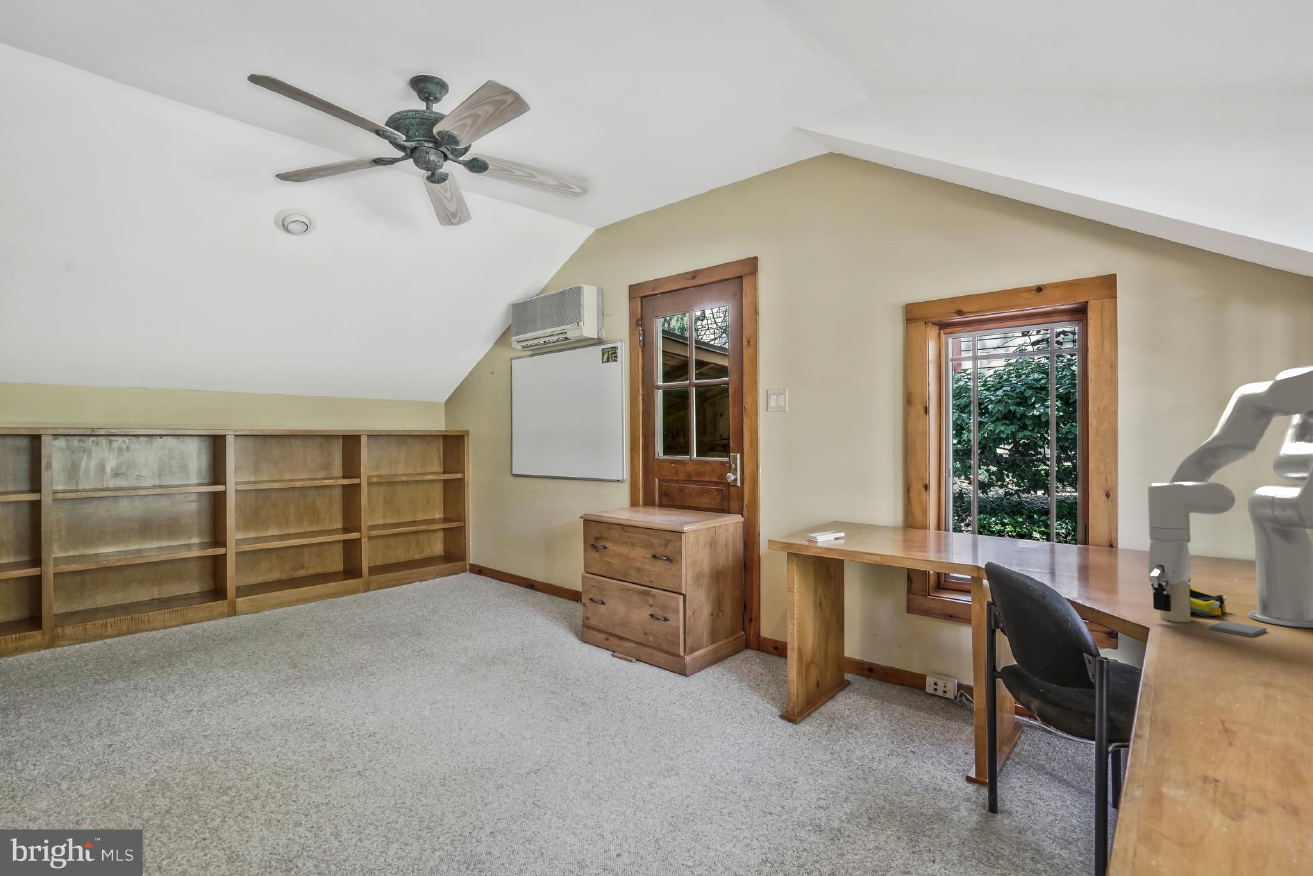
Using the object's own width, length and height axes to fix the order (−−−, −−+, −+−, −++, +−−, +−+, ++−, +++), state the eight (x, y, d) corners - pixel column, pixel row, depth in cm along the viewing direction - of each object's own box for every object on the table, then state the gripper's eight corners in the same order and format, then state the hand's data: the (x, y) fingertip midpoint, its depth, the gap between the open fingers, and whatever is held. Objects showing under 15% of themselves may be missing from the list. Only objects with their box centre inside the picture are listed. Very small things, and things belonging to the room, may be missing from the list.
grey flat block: (1225, 624, 142) (1225, 620, 142) (1266, 631, 136) (1266, 628, 136) (1209, 629, 138) (1209, 625, 138) (1251, 637, 132) (1251, 633, 132)
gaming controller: (1163, 613, 153) (1217, 621, 146) (1162, 590, 153) (1216, 597, 146) (1178, 603, 163) (1229, 610, 155) (1177, 582, 163) (1229, 588, 155)
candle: (1166, 621, 145) (1164, 578, 145) (1156, 616, 150) (1154, 574, 151) (1195, 623, 143) (1193, 579, 144) (1183, 617, 148) (1182, 575, 149)
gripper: (1167, 531, 155) (1170, 600, 154) (1132, 535, 146) (1135, 609, 146) (1205, 534, 148) (1208, 606, 148) (1171, 539, 140) (1174, 616, 139)
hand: (1172, 607), depth 147 cm, fingers open, 9 cm apart
